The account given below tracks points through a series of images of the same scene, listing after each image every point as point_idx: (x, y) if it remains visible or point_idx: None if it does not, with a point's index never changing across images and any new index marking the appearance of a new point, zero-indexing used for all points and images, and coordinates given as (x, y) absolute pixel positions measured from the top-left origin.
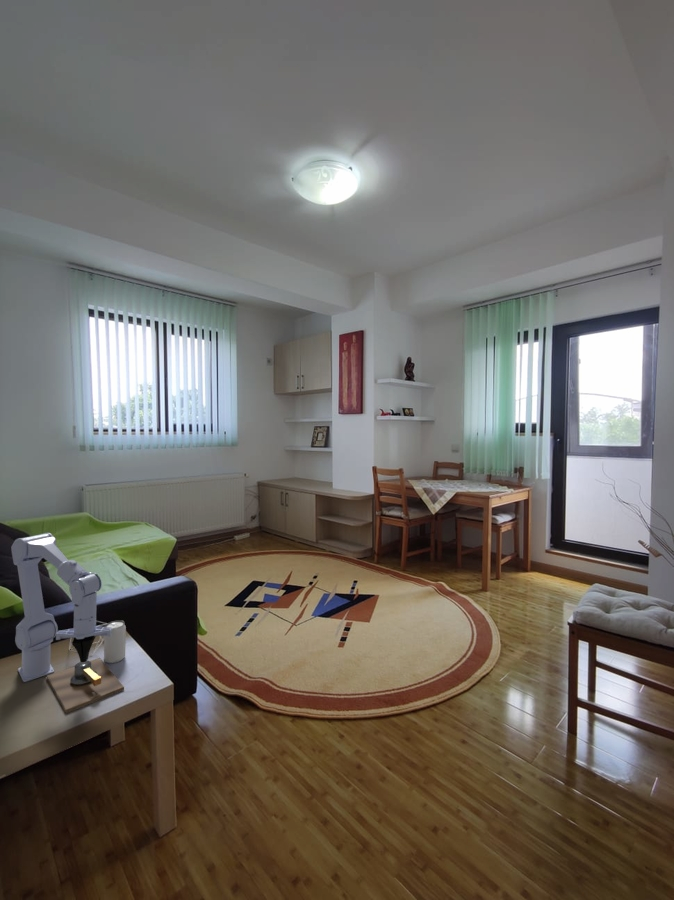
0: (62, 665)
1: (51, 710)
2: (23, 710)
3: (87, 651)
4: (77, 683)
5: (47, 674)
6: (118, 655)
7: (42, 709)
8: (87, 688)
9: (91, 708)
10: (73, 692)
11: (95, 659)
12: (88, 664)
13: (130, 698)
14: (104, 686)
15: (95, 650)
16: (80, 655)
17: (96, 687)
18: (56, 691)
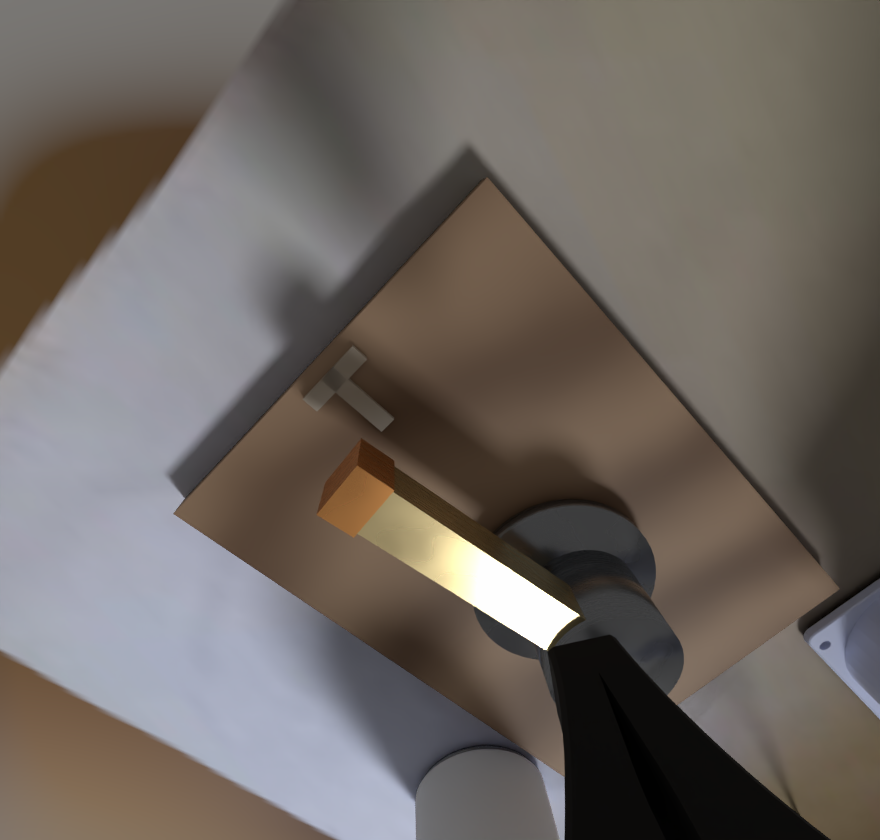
0: (776, 697)
1: (625, 221)
2: (844, 216)
3: (566, 829)
4: (570, 507)
5: (835, 609)
6: (435, 812)
7: (703, 232)
8: (467, 473)
9: (301, 256)
10: (553, 420)
11: None
12: None
13: (47, 402)
14: None
15: None
16: (664, 726)
17: None
18: (693, 423)
